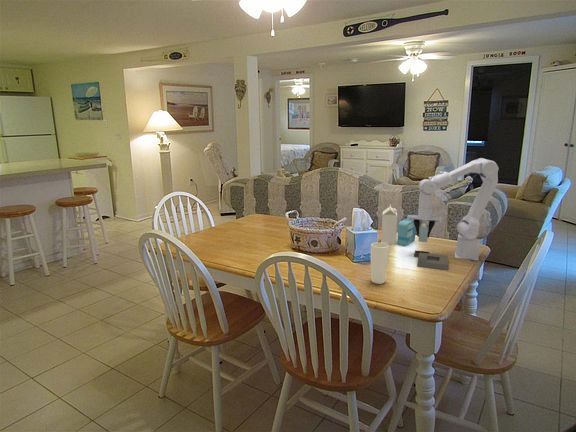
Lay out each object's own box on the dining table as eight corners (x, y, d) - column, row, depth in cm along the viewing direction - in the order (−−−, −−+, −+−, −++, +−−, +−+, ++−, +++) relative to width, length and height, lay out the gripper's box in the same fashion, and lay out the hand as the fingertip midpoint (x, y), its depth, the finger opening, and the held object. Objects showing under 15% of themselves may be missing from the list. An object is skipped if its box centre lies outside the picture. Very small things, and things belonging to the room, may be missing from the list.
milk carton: (380, 244, 201) (382, 207, 196) (381, 240, 208) (383, 203, 203) (395, 245, 200) (397, 207, 195) (395, 241, 206) (397, 204, 202)
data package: (405, 247, 196) (407, 223, 193) (396, 246, 199) (398, 222, 196) (415, 241, 205) (416, 218, 202) (406, 239, 208) (407, 217, 205)
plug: (427, 239, 183) (428, 222, 181) (426, 242, 180) (428, 224, 178) (419, 239, 184) (420, 221, 182) (418, 241, 181) (419, 223, 179)
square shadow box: (429, 255, 186) (429, 251, 185) (428, 259, 180) (429, 256, 179) (414, 253, 188) (415, 250, 188) (413, 257, 182) (414, 254, 182)
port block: (447, 261, 177) (448, 255, 177) (447, 271, 166) (448, 264, 166) (418, 258, 182) (419, 252, 181) (417, 267, 171) (417, 261, 170)
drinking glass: (367, 278, 160) (368, 242, 156) (384, 277, 161) (385, 241, 157) (372, 285, 154) (373, 248, 150) (389, 284, 154) (391, 247, 150)
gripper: (443, 206, 179) (440, 235, 183) (409, 203, 184) (407, 232, 188) (442, 209, 173) (440, 240, 176) (407, 207, 178) (405, 237, 181)
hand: (423, 236), depth 182 cm, fingers closed on plug, 4 cm apart
